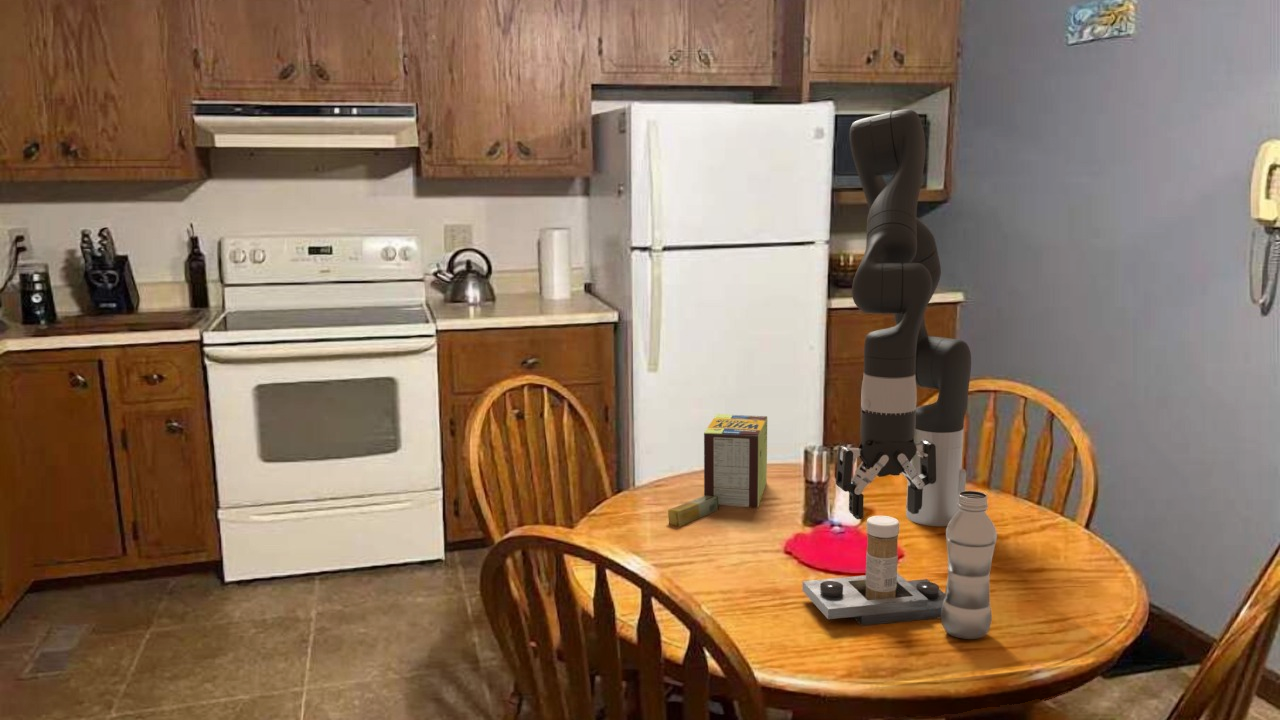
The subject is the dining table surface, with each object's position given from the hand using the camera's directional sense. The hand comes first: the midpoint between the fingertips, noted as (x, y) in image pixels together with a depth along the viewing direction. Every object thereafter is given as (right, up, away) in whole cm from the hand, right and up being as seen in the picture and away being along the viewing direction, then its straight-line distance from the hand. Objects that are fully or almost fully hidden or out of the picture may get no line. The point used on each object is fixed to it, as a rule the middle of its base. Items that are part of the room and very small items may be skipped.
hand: (885, 515), depth 143 cm
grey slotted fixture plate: (-3, -13, +2) cm, 13 cm away
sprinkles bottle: (0, -14, +3) cm, 14 cm away
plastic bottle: (+9, -16, -6) cm, 19 cm away
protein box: (-16, -6, +52) cm, 54 cm away
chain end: (+2, -14, +3) cm, 14 cm away
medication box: (-25, -8, +39) cm, 47 cm away
